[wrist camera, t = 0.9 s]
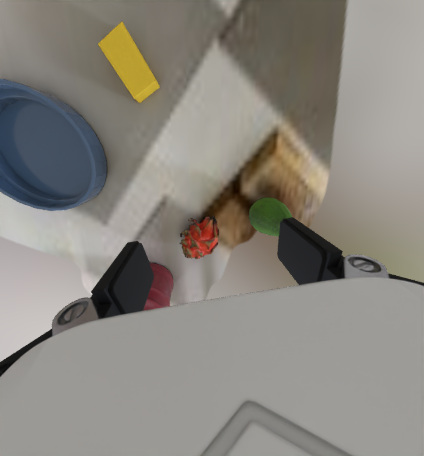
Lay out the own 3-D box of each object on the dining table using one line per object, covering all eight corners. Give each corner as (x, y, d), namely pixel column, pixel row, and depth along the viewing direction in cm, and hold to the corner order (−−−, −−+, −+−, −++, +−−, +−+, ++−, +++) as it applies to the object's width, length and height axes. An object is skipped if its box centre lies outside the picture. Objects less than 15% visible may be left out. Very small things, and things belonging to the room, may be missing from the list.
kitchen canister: (172, 261, 43) (159, 324, 27) (175, 294, 49) (165, 362, 33) (123, 261, 42) (79, 328, 26) (131, 295, 47) (99, 368, 32)
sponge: (108, 55, 24) (97, 43, 22) (130, 35, 24) (121, 20, 21) (139, 103, 27) (133, 98, 25) (160, 87, 27) (156, 79, 24)
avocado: (279, 194, 37) (312, 211, 27) (270, 224, 41) (296, 249, 30) (247, 191, 36) (268, 207, 26) (240, 222, 40) (257, 248, 29)
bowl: (-41, 89, 25) (-87, 77, 21) (87, 90, 26) (67, 79, 22) (26, 205, 33) (3, 213, 29) (119, 201, 35) (109, 208, 31)
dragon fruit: (184, 245, 43) (208, 209, 41) (207, 265, 40) (234, 227, 38) (165, 248, 35) (193, 203, 33) (192, 273, 32) (224, 226, 30)
